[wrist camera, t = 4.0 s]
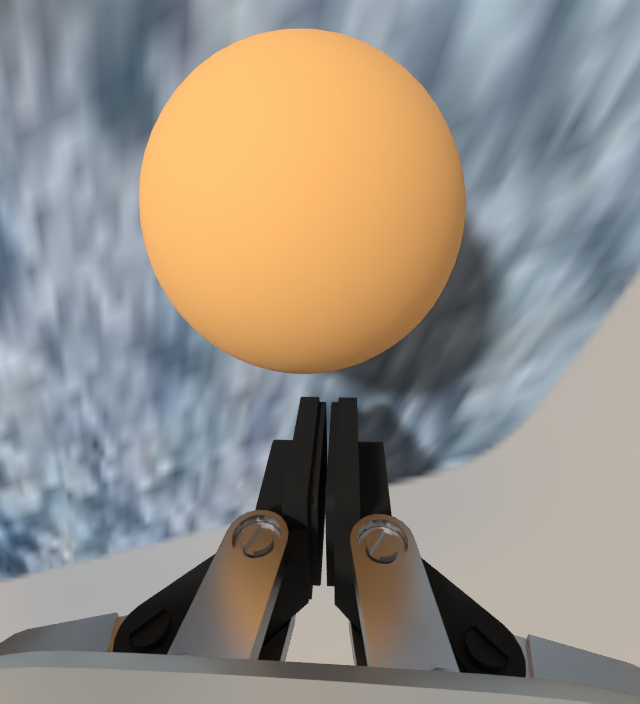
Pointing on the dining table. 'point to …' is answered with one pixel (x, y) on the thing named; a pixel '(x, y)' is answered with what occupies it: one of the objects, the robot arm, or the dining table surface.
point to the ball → (302, 201)
